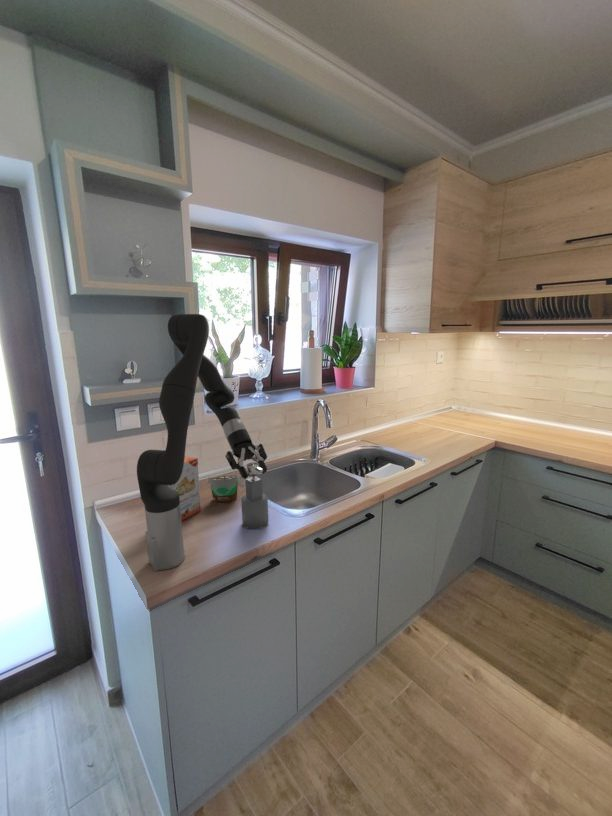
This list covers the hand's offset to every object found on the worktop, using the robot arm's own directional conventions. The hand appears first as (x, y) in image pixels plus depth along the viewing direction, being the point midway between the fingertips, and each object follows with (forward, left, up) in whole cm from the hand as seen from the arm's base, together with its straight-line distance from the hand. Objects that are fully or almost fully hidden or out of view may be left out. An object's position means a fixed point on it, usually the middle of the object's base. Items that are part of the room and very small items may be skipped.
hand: (255, 474), depth 122 cm
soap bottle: (0, +2, -18) cm, 18 cm away
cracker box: (-18, +23, -18) cm, 34 cm away
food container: (0, +24, -18) cm, 30 cm away
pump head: (0, 0, -9) cm, 9 cm away
